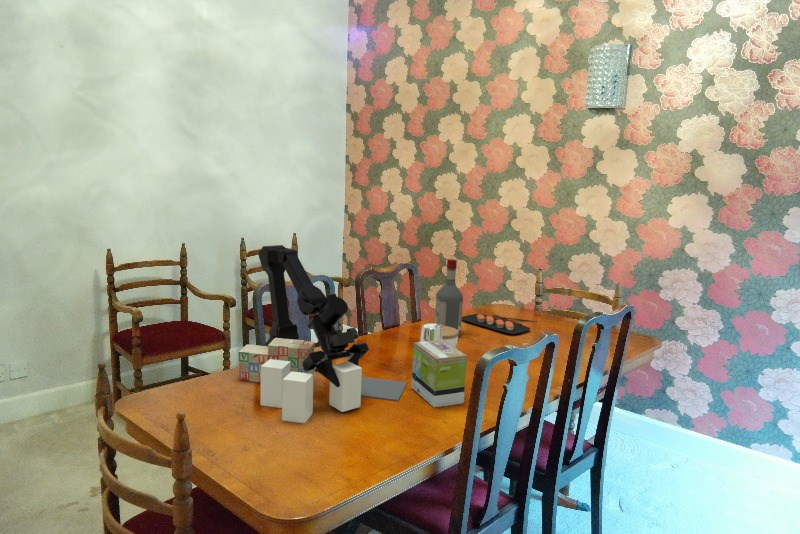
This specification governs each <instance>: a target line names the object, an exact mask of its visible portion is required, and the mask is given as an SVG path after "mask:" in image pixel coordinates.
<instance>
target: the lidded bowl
mask: <svg viewBox="0 0 800 534" xmlns="http://www.w3.org/2000/svg"><path fill="white" fill-rule="evenodd" d="M440 325H441V326H442V340H444V341H445V342H447V343H448V344H450V345H451V346H453V347H455V348H456V349H457V345H458V340H459V337H458V335H459V331H458V330H457V329H455V328H452V327H449V326H443V325H442V324H440Z"/></svg>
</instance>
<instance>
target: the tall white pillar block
mask: <svg viewBox="0 0 800 534" xmlns="http://www.w3.org/2000/svg"><path fill="white" fill-rule="evenodd" d="M313 401H314V380H313V374H309V373H301V372H292V371H291V372H290V373H289V374H288V375H287V376H286V377H285V378H284V379H283V395H282V408H281V409H282V410H281V412H282V413H281V415H282V416H281V420H282V421H283V422H291V423H298V424H306V423H307V421H308V420H309V419H310V418H311V416H312V415H313V409H314V408H313V405H314V402H313Z"/></svg>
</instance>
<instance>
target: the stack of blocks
mask: <svg viewBox="0 0 800 534" xmlns="http://www.w3.org/2000/svg"><path fill="white" fill-rule="evenodd" d="M315 343H316V342H315V341H309V340H308V341H307V340H304V339H299V340H293V339H282V338H274V339H273V341H272V342H271V343H270V344H269V345H268V347H267V346H264V345H257V344H245V346H243V347H242V348H241V349H240V350H239V351H238V371H239V373H238V374H239V376H238V377H239V380H240V381H245V382H246V381H247V382H252V383H259V384H261V366H262V365H263V364H264V363H266V362H267V361H268V360H269V359H273V360H282V361H290V362H291V365H290V372H291V371H292V372H301V373H309V374H313V381H314V380H315V371H314V370H315V369H314V370H310V371H305V370H304V368H303V361H304V359H305V358H306V357H307V356H308V355H309V353H312V352H315Z"/></svg>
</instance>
